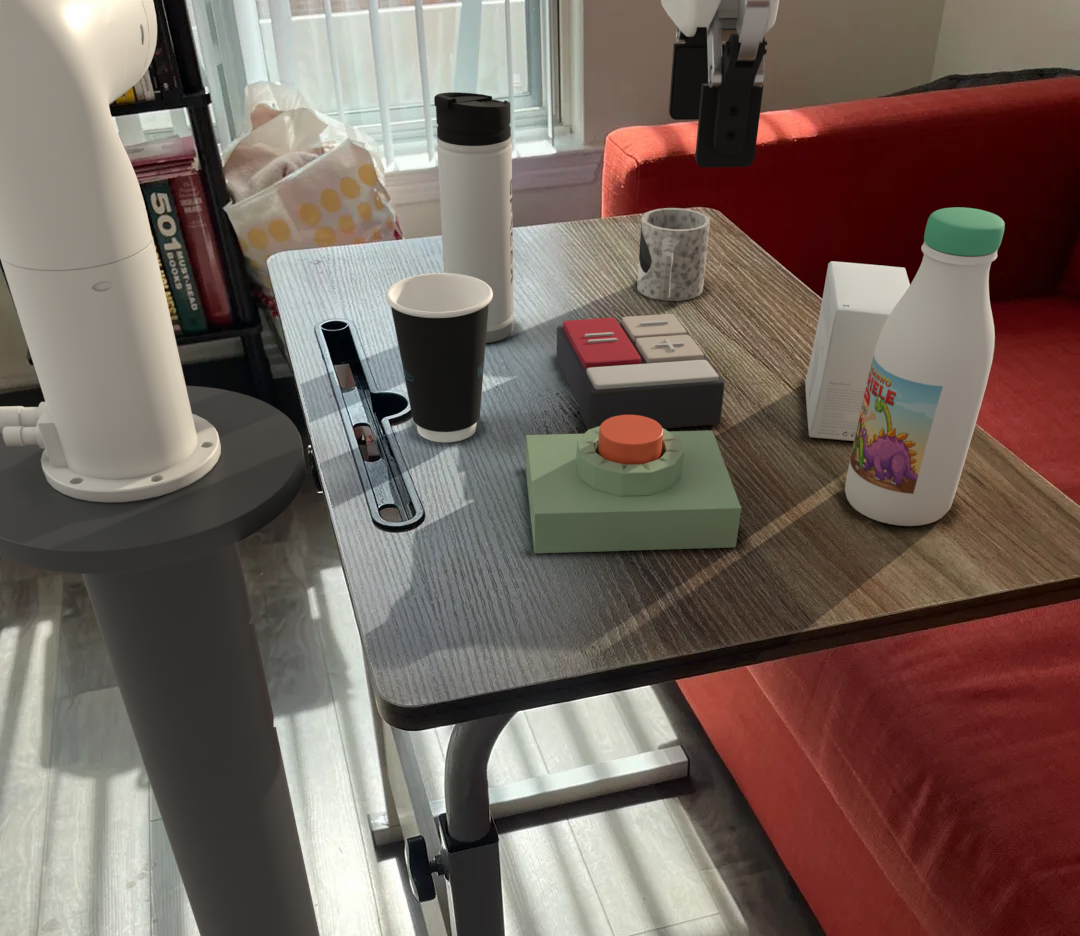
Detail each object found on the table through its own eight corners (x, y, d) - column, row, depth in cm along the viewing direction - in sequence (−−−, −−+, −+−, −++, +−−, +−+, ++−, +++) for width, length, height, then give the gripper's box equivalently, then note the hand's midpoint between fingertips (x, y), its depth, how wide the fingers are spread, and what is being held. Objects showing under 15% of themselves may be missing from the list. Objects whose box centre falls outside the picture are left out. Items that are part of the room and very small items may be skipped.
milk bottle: (920, 470, 85) (993, 193, 72) (970, 523, 79) (1059, 233, 66) (826, 480, 84) (882, 200, 70) (870, 535, 78) (939, 242, 65)
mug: (641, 273, 115) (646, 205, 110) (706, 278, 114) (713, 210, 109) (627, 310, 107) (631, 240, 103) (696, 316, 106) (703, 245, 102)
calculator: (677, 308, 99) (727, 373, 87) (673, 356, 101) (722, 424, 90) (555, 316, 97) (590, 383, 86) (555, 364, 100) (589, 435, 88)
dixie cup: (378, 426, 90) (364, 289, 82) (454, 396, 94) (448, 264, 86) (438, 462, 85) (429, 322, 78) (516, 430, 89) (514, 294, 82)
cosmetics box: (890, 446, 88) (922, 315, 81) (808, 439, 88) (832, 309, 81) (880, 387, 95) (908, 263, 88) (804, 382, 96) (825, 258, 89)
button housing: (534, 553, 76) (534, 489, 73) (525, 473, 84) (525, 412, 81) (735, 547, 77) (745, 484, 73) (708, 468, 85) (715, 407, 82)
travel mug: (430, 330, 104) (415, 90, 90) (484, 311, 107) (477, 78, 94) (473, 351, 100) (464, 105, 87) (527, 331, 104) (526, 91, 90)
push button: (601, 468, 76) (602, 445, 75) (595, 437, 79) (596, 414, 78) (665, 466, 76) (667, 443, 75) (656, 436, 79) (658, 413, 78)
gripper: (645, -251, 60) (627, 103, 71) (699, -243, 47) (666, 188, 58) (782, -250, 60) (742, 102, 72) (873, -242, 47) (807, 186, 59)
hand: (708, 140), depth 65 cm, fingers open, 9 cm apart
